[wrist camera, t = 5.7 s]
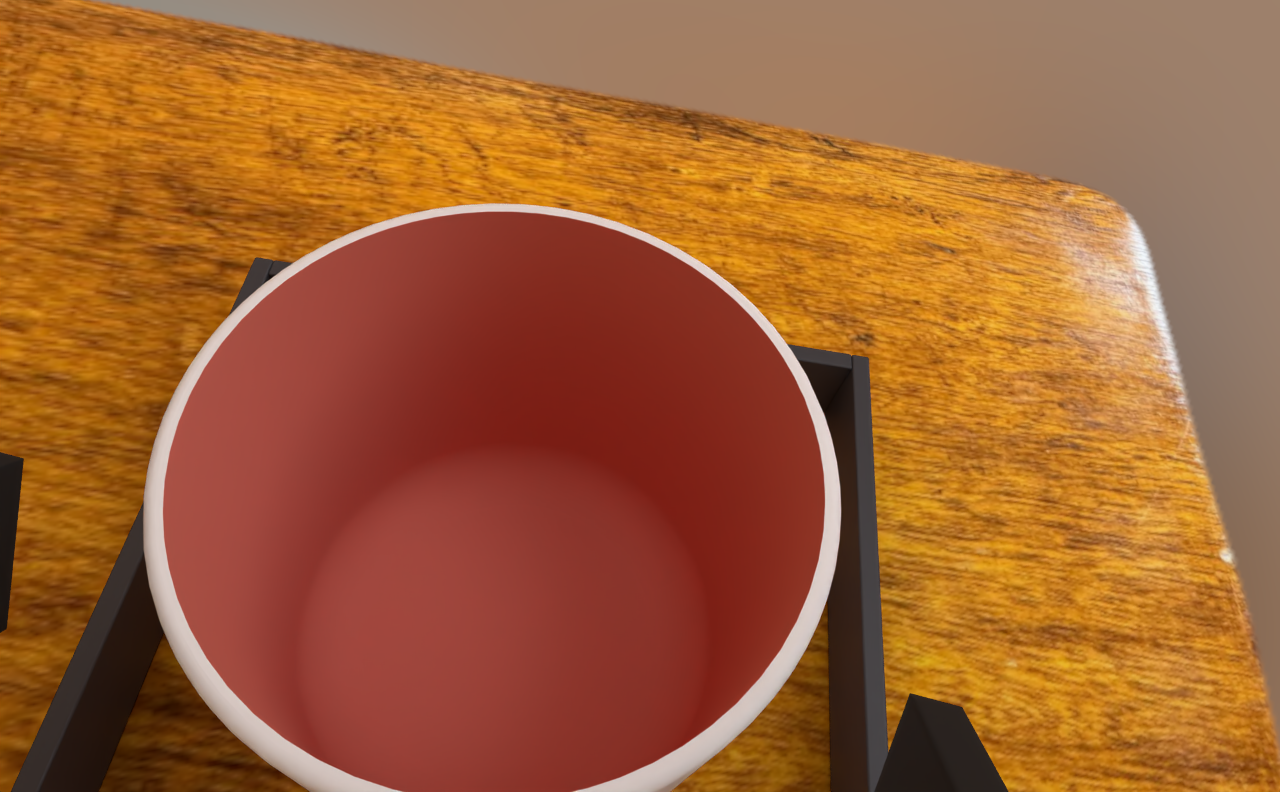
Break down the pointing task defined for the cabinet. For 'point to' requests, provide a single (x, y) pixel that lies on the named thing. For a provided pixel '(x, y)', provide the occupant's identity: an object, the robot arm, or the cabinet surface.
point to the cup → (492, 509)
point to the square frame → (130, 628)
